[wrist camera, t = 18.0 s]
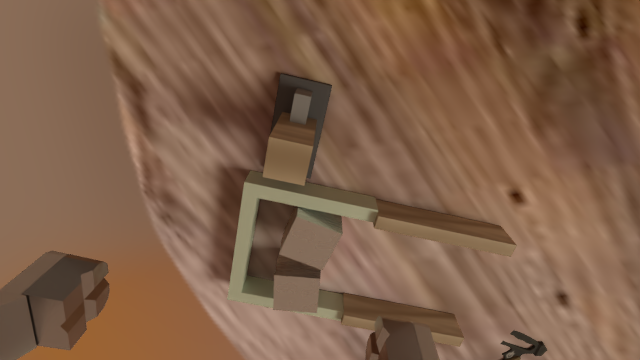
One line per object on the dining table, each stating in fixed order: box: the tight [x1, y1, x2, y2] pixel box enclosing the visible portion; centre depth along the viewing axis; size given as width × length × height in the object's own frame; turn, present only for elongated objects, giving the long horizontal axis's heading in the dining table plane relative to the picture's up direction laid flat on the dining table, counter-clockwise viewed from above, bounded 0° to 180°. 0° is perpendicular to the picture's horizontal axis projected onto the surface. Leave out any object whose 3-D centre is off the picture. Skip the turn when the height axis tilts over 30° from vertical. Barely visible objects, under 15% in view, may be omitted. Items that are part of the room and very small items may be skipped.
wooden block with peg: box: [262, 88, 317, 186], centre depth 25 cm, size 7×3×6 cm, turn 167°
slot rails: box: [341, 199, 517, 347], centre depth 32 cm, size 12×12×3 cm
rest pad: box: [270, 73, 332, 179], centre depth 28 cm, size 8×4×1 cm, turn 167°
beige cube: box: [273, 254, 321, 313], centre depth 32 cm, size 4×4×4 cm
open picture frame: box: [227, 170, 378, 321], centre depth 32 cm, size 13×11×2 cm
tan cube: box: [279, 206, 342, 270], centre depth 30 cm, size 4×4×4 cm
